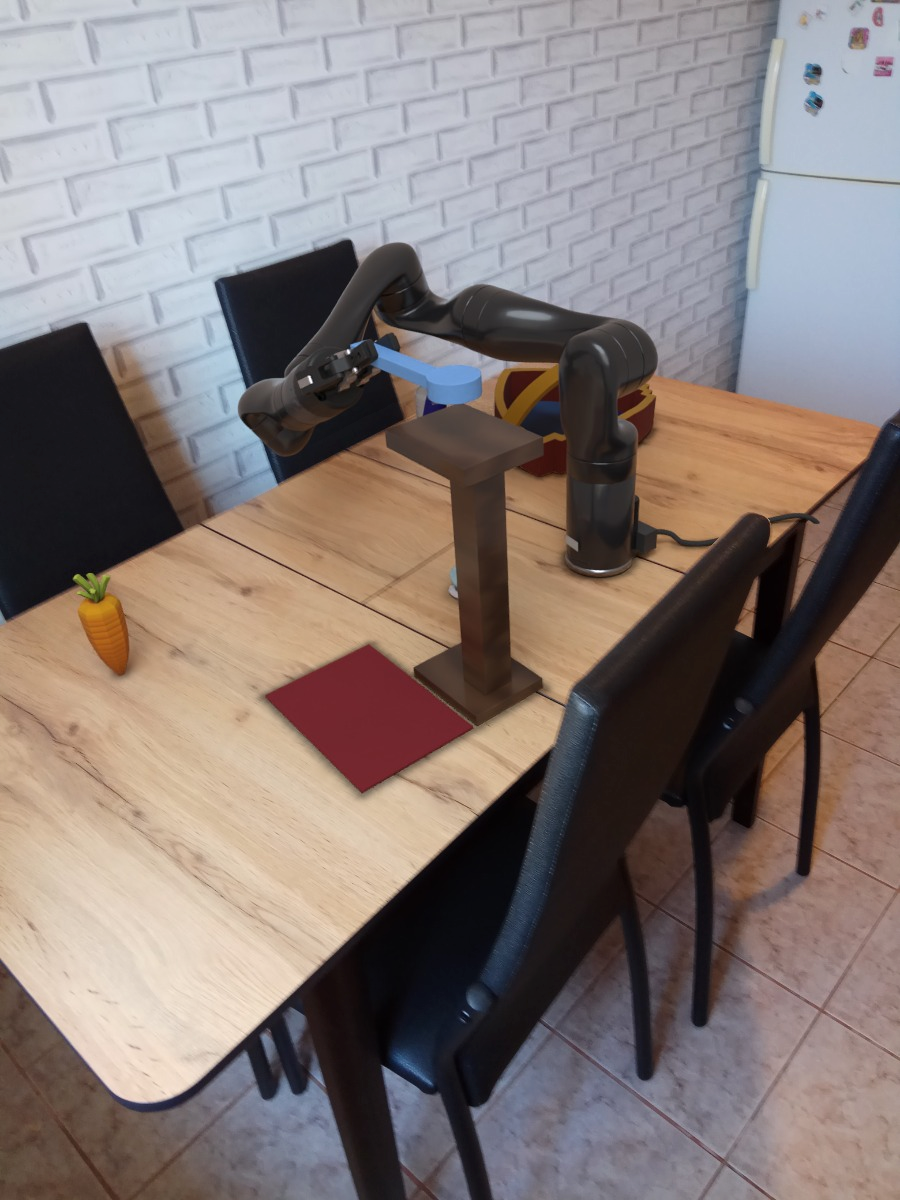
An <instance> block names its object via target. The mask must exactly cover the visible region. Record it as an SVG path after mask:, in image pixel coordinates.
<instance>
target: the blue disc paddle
mask: <svg viewBox="0 0 900 1200" xmlns="http://www.w3.org/2000/svg"><path fill="white" fill-rule="evenodd" d="M365 340H366V339H365ZM365 340H362V341H361V342H358V343H354V344H351V345H350V347H351V349H354V348H355V347H356V346H358V345H359V344H361V343H362V342H363V341H365ZM374 345H375V347H376V350H377V352H378V359H377V360H375V361H374V362H372V363H371V364H370V365H372V366H374V367H377V368H379V369H381V371H384V372H386V373H388V374H390V375H392V376H395V377H398V378H400V379H403V380H405V381H407V382H410V383H412V384H415V385H416V386H418V387H419V386H421V387H424V388H426V389H427V397H428V399H429V400H431V401H432V402H435V403H438V404H446V405H447V406H452V405H456V404H463V403H464V404H467V403H470V402H471V403H472V402H473V401H475V400H478V399H480V397H481V396H482V394H483V378H482V371H481V370H480V369H479V368H477V367H476V366H472V365H466V364H452V365H451V364H449V365H444V366H439V367H436V366H435V365H431V364H430V363H427V362H423V361H421V360H420V359H416V358H413V357H411V356H409V355H406V354H403V353H401V352H396V351H393V350H391V349H388V348H386V347H383V346H381V345H378V344H376V343H374Z"/></svg>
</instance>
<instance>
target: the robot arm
mask: <svg viewBox="0 0 900 1200" xmlns="http://www.w3.org/2000/svg"><path fill="white" fill-rule="evenodd" d="M373 312H374V314H375V315H376V317H377V318H378V319H379V321H380V322H382V323H383V324H385V325H387V326H389V327H392V328H394V329H395V328H396V329H399V330H403V331H408V332H412V333H417V334H422V335H425V336H426V335H427V336H429V337H434V338H437V339H439V340H442V341H446V342H449V343H452V344H455V345H459V346H461V347H463V348H466V349H468V350H470V351H472V352H475V353H477V354H480V355H482V356H485V357H489V358H492V359H494V360H498V361H502V362H508V363H509V362H510V363H525V364H526V363H527V364H528V363H529V364H530V363H532V364H533V363H534V364H538V363H539V364H544V363H545V364H546V363H547V364H559V368H558V380H559V399H560V418H561V425H562V429H563V432H564V435H565V437H566V442H567V454H566V472H565V473H566V475H565V477H566V479H565V480H566V481H565V486H566V487H565V488H566V489H565V492H566V493H565V494H566V495H565V496H566V497H565V551H564V561H565V564H566V566H567V567H568V568H569V569H571V570H572V571H573V572H575V573H577V574H578V575H579V574H580V575H583V576H586V577H595V578H605V577H606V578H607V577H612V576H616V575H620V574H622V573H624V572H625V571H627V570H629V568H630V567H631V565H632V564H633V559H634V558H636V557H637V554H638V553H637V552H639V553H641V554H642V555H645V554H648V553H649V552H651V551H654V550H655V549H656V548H657V542H658V541H657V539H658V535H661V536H667V537H670V538H672V539H673V540H674V541H675V542H676V543H677V544H678V545H681V546H686V547H696V548H697V547H707V546H712V544H713V543H714V542H715V541H716V540H717V539H718V538H719V537H716V538H711V539H705V540H690V539H689V540H688V539H683V538H681V537H680V536H679V535H678V534H677V533H675V532H674V531H672V530H669V529H664V528H656V527H654V526H652V525H650V524H647V523H646V522H643V521H642V520H639V516H640V501H641V500H640V496H639V495H638V494H636V483H637V462H638V448H639V447H638V446H639V442H638V432H637V429H636V427H635V426H634V425H633V424H632V423H631V422H629V421H627V420H624V419H622V418H618V412H617V399H619V398H621V397H623V396H625V395H628V394H630V393H632V392H634V391H636V390H637V389H639V388H641V387H642V386H643V385H645V384H648V382H649V381H650V380H651V379H652V378H653V376H654V375H655V373H656V371H657V368H658V364H659V354H658V350H657V347H656V344H655V342H654V341H653V339H652V337H651V336H650V334H648V332H647V331H646V330H645V329H644V328H642V327H641V326H640V325H638V324H637V323H635V322H633V321H630V320H626V319H623V318H618V317H611V316H604V315H597V314H592V313H585V312H581V311H575V310H571V309H568V308H565V307H561V306H558V305H555V304H552V303H549V302H546V301H544V300H541V299H536V298H533V297H529V296H526V295H524V294H521V293H518V292H515V291H512V290H509V289H506V288H502V287H499V286H495V285H492V284H488V283H478V284H477V283H476V284H473V285H470V286H467V287H465V288H464V289H462V290H461V291H458V293H456V294H455V295H453V296H452V297H451V298H445V297H442V296H439V295H437V294H435V293H434V292H433V291H432V290H431V288H430V286H429V283H428V281H427V277H426V274H425V272H424V269H423V266H422V263H421V260H420V258H419V256H418V253H417V252H416V250H415V249H414V247H413V246H412V245H411V244H408V243H406V242H402V241H395V242H389V243H385V244H382V245H380V246H378V247H377V248H375V249H374V250H373V251H371V252H370V253H369V254H368V255H367V256H366V257H365V258H364V259H363V260H362V262H361V263H360V265H359V266H358V267H357V269H356V270H355V272H354V274H353V275H352V277H351V279H350V281H349V282H348V284H347V286H346V287H345V289H344V290H343V292H342V294H341V295H340V297H339V299H338V300H337V303H336V304H335V306H334V307H333V309H332V310H331V312H330V314H329V315H328V317H327V319H326V320H325V322H324V323H323V325H321V327H320V329H319V330H318V331H317V332H316V334H314V336H313V337H312V338H311V339H310V340H309V342H308V343H307V344H306V345H305V346H304V347H303V348H302V349H301V351H300V352H299V353H297V355H296V356H295V357H294V358H293V359H292V360H291V362H290V363H289V364H288V365H287V367H286V368H285V370H284V376H283V377H272V378H266V379H262V380H260V381H258V382H255V383H254V384H252V385H251V386H249V387H248V388H247V389H246V390H245V391H244V392H243V393H242V394H241V396H240V398H239V399H238V403H237V414H238V417H239V419H240V420H241V422H242V423H243V424H244V425H245V426H246V427H247V428H248V430H250V431H251V432H252V433H253V434H254V436H256V437H257V438H258V439H259V440H261V441H262V442H263V443H264V444H265V445H266V446H267V447H268V449H270V450H271V451H272V452H273V453H275V454H276V455H277V456H280V457H291V456H294V455H296V454H298V453H300V452H301V451H302V450H303V449H304V448H305V447H306V446H307V444H308V442H309V441H310V439H311V437H312V435H313V433H314V431H315V428H316V426H317V425H320V424H321V423H323V422H327V421H329V420H331V419H333V418H335V417H337V416H338V415H340V414H342V413H343V412H345V411H347V410H349V409H350V408H352V407H353V406H354V405H356V404H357V403H358V402H359V400H360V399H361V398H362V395H363V393H364V388H365V384H366V383H368V382H370V378H373V377H375V376H376V375H378V374H380V373H381V372H382V370H381V369H379V368H377V367H374V366H372V365H370V364H371V363H372V362H374V361H375V360H377V359H378V352H377V350H376V347H375V345H374V343H376V344H378V345H381V346H383V347H386V348H388V349H391V350H393V351H396V352H399V353H401V352H400V351H401V349H402V347H401V344H400V342H399V339H398V337H397V335H396V334H395V333H394V332H389V333H386V334H384V335H382V336H381V337H380V338H378V339H376V340H373V339H372V338H369V339H365V341H364V340H363V339H364V336H365V332H366V329H367V326H368V323H369V320H370V317H371V315H372V313H373ZM361 341H363V342H362V343H361V344H359V345H358V346H356V347H355V348H354V349H351V347H350V345H351V344H354V343H358V342H361ZM767 518H768V519H769V520H770V522H771V523H770V524H772V523H776V522H781V521H787V520H792V519H803V520H806V521H809V522H811V523H812V524H814V525H819V524H820V523H821V522H820V521H819V520H818V519H817V518H816V517H814V516H812V515H811V514H808V513H804V512H791V513H784V514H781V515H775V516H771V517H767ZM713 545H714V544H713Z"/></svg>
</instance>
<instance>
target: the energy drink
mask: <svg viewBox="0 0 900 1200" xmlns="http://www.w3.org/2000/svg"><path fill="white" fill-rule="evenodd" d="M414 403H415V415H416V418H419V417H422V416H424V415H427V414H430V413H433V412H435V411H438V410H441V409H444V408H447V407H448V405H446V404H438V403H435V402H432V401H431V400H429V399H428V397H427V389H426V388H424V387H421V386H419V385H418V386H417V387H416V388H415V392H414Z"/></svg>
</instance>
